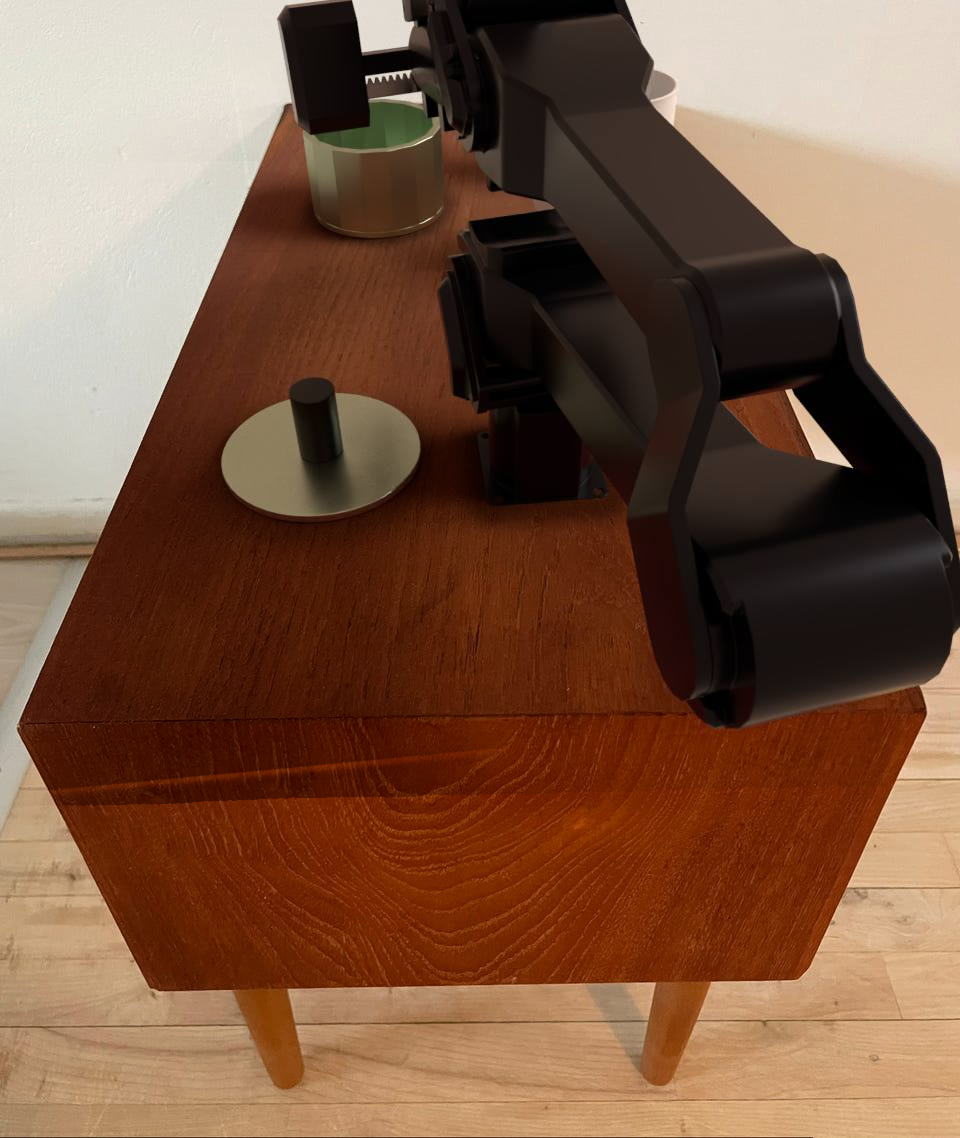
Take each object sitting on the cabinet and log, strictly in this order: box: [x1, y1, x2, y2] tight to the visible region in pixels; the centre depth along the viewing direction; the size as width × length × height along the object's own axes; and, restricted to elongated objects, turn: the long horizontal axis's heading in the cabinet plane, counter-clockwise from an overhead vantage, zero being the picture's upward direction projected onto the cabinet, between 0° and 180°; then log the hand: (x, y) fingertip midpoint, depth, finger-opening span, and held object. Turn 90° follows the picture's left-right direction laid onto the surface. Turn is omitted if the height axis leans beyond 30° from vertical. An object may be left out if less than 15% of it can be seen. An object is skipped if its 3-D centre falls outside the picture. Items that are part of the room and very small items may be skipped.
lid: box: [220, 376, 422, 524], centre depth 55 cm, size 11×11×5 cm
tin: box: [302, 98, 445, 239], centre depth 77 cm, size 10×10×6 cm
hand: (424, 35), depth 62 cm, fingers open, 9 cm apart
